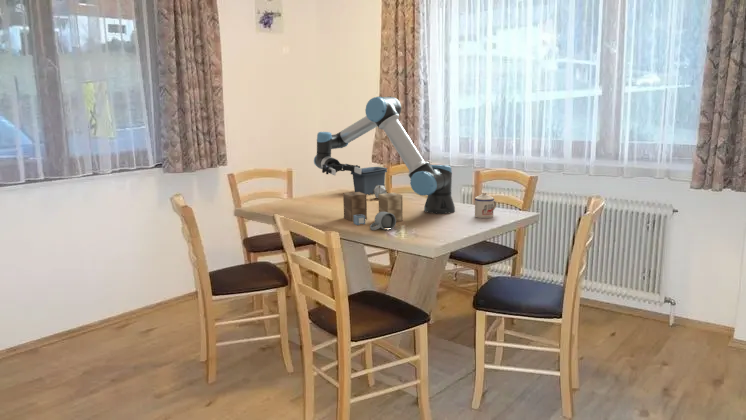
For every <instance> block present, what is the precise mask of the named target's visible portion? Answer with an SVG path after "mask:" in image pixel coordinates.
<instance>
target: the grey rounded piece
mask: <svg viewBox="0 0 746 420" xmlns="http://www.w3.org/2000/svg"><path fill="white" fill-rule="evenodd" d="M372 191H373V190H372ZM373 193H374V194H373V195H374V196H375V198H374V199H375V200H376V199H379V194H386V193H389V192H388V190H387V189H386V184H384V185H376V187H375V189H374V192H373Z"/></svg>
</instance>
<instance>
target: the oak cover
mask: <svg viewBox="0 0 746 420" xmlns="http://www.w3.org/2000/svg"><path fill="white" fill-rule="evenodd" d="M379 212H388V213H392V214H393V215H394V216H395V218H396V222H402V221H403V217H404V216H403V213H404V212H403V194H399V193H396V192H388V193H386V194H379V198H378V213H379Z"/></svg>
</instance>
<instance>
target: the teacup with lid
mask: <svg viewBox="0 0 746 420" xmlns="http://www.w3.org/2000/svg"><path fill="white" fill-rule="evenodd" d="M496 208H497V201H496V200H495V198H494V197H493V196H491V195H489V194H487V191H483V192H482V193H481V194H480V195H478V196H475V197H474V217H476V218H477V219H491V218H493V217H494V211H495V209H496Z"/></svg>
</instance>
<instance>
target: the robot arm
mask: <svg viewBox="0 0 746 420" xmlns="http://www.w3.org/2000/svg"><path fill="white" fill-rule="evenodd" d="M364 110H365V116H364V117H362V118H360V119H358V120H357V121H355V122H354V123H352V124H351V125H349V126H347V127H346V128H344V129H343V130H341V131H339V132H338V133H335V134H332V132H330V131H318V132H317V135H316V155H315V156H314V158H313V164H314V166H316V167H317V168H318V169H321V173H323V174H324V173H325V174H326V175H331V176H336V175H337V173H338V172H345V171H347V172H348V171H349V172H351V171H354V172H355V173H358V174H361V171H362V169H361V166H360V165H358V164H356V165H355V164H349V163H341V162H340V161H339V159H337V158H334V157H332V150H334V149H335V150H336V149H344V148H346V147H348V145H349V144H350V143H351V142H353V141H354V140H356V139H358V138H360V137H362V136H363V135H365V134H366V133H368V132H370V131H372V130H374V129H375V128H377V127H378V129H379V130H383V131H384V133H385V135H386V136H387V137H388V139H389V141H390V143H391V144H392V146H393V147H394V149H395V150H396V152H397V154H398V155H399V157H400V158H401V160H402V162H403V163H404V165H405V166H406V168H407V169H408V177H409V179H410V183H409V184H410V187H411V189H412V191H413V192H414V193H415V194H417V195H419V196H427V197H426V201H425V203H424V208H423V210H424V212H425V213H428V214H437V215H438V214H441V215H444V214H452V213H454V212H455V211H456V206H455V203H454V201H453V197H452V187H453V186H452V181H453V180H452V179H453V171H452V167H451V166H450V165H441V164H440V165H439V164H437V165H436V164H431V163H430V162H429V161H426V160H425V159H424V158H423V157H422V155H421V153H420V151H419V150H418V149H417V147H416V146H415V144H414V143H413V141H412V139H411V138H410V135H408V133H407V132H406V130H405V128H404V127H403V125H402V123H401V122H400V121H399V119H400V116H401V112H402V104H401V102H400V100H399V99H398V98H397V97H394V96H376V97H372V98H370V99H369V100H368V101H367V102H366V105H365V109H364Z"/></svg>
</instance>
